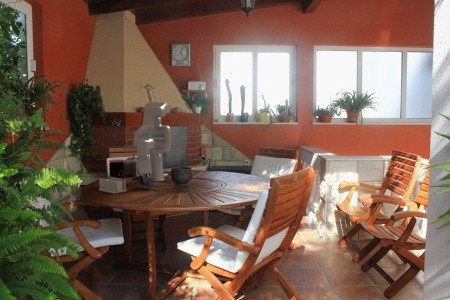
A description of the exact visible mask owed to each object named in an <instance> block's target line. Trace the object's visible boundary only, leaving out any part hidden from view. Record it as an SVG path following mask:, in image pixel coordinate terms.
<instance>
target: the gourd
mask: <svg viewBox="0 0 450 300" xmlns="http://www.w3.org/2000/svg"><path fill="white" fill-rule="evenodd" d="M123 160H124V162H123V163H124V176H129V177H130V176H131V177H132V176H133V177H137V176H136V163H137V160H138V156H135V154H132V156H130V157H127V158H126V159H123Z"/></svg>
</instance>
